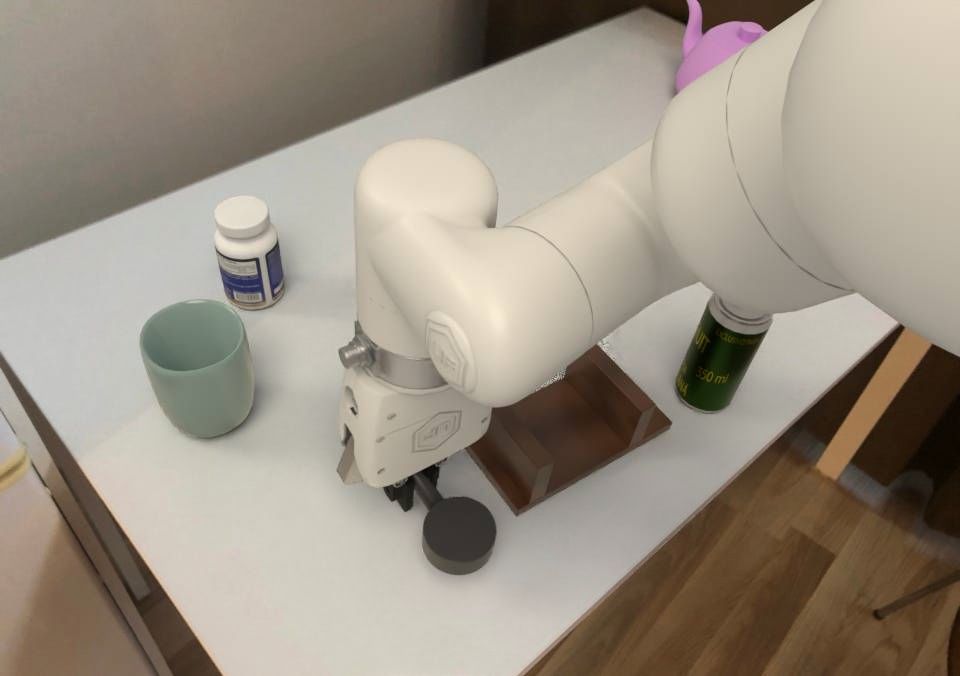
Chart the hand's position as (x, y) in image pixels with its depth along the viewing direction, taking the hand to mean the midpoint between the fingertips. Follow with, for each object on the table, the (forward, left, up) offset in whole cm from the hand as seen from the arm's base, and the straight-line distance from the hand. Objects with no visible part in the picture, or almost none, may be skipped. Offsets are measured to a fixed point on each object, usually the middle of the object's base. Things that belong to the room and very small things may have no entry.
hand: (410, 489), depth 63 cm
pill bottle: (+28, +1, -2) cm, 28 cm away
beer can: (-4, -29, -2) cm, 29 cm away
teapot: (+32, -68, -2) cm, 75 cm away
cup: (+16, +10, -2) cm, 19 cm away
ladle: (0, 0, +2) cm, 2 cm away
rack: (-1, -15, -2) cm, 15 cm away
